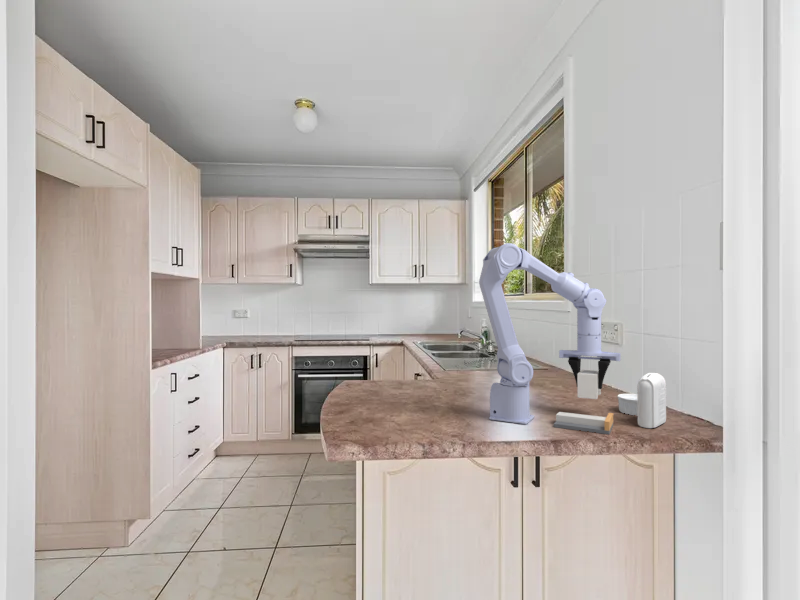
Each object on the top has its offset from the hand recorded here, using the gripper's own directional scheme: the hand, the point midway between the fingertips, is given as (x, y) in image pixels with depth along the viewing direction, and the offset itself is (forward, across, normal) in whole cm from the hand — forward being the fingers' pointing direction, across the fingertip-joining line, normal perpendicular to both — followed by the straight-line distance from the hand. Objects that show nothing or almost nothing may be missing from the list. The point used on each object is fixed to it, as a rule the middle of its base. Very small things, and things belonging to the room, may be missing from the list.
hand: (589, 387), depth 115 cm
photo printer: (+8, -14, 0) cm, 16 cm away
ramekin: (+8, -10, -11) cm, 17 cm away
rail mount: (+8, 0, +10) cm, 12 cm away
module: (+2, 0, 0) cm, 2 cm away
